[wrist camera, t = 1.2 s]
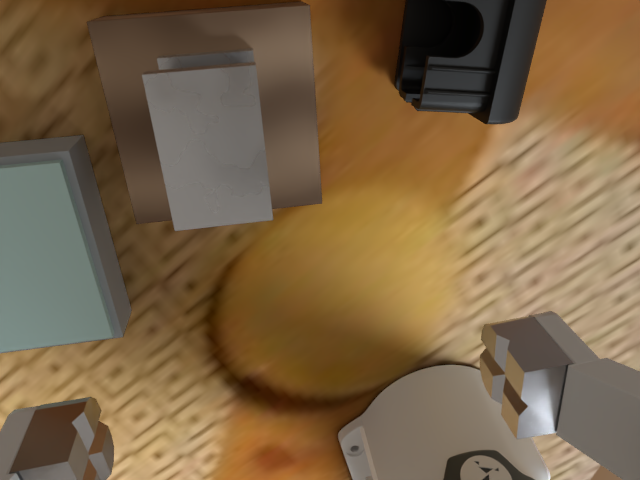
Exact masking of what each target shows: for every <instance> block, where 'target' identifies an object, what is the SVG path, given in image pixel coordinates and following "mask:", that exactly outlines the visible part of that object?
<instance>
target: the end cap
mask: <svg viewBox="0 0 640 480" xmlns="http://www.w3.org/2000/svg"><path fill="white" fill-rule="evenodd" d="M546 1H547V0H406V2H405V9H404V17H403V24H402V31H401V38H400V46H399V53H398V60H397V68H396V75H395V87H396V88H397V90H398V91H399V94H400V96H401V97H402V98H403V99H404V100H405V101H406V102H410V103H412V104H411V105H412V106H414V108H415V109H416V110H417V111H434V112H455V113H468V114H470V115H472V116H473V117H475V118H477V119H478V120H480V121H481V122H483V123H485V124H505V123H510V122H513V121H514V120H516V119H517V118H518V114H519V110H520V106H521V102H522V98H523V94H524V90H525V86H526V82H527V78H528V74H529V70H530V66H531V62H532V58H533V54H534V49H535V45H536V41H537V37H538V33H539V29H540V25H541V21H542V17H543V13H544V9H545V5H546Z"/></svg>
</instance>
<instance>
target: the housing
mask: <svg viewBox="0 0 640 480" xmlns="http://www.w3.org/2000/svg"><path fill="white" fill-rule="evenodd" d="M157 62H158V67H159V70H152V71H145V72H144V73H143V74H142V78H143V83H144V87H145V92H146V97H147V102H148V106H149V111H150V116H151V121H152V125H153V130H154V135H155V140H156V144H157V149H158V154H159V159H160V163H161V168H162V173H163V177H164V182H165V187H166V192H167V196H168V201H169V206H170V211H171V215H172V220H173V225H174V230H175V231H181V230H189V229H198V228H207V227H216V226H225V225H233V224H242V223H251V222H260V221H269V220H273V214H272V205H271V196H270V187H269V178H268V169H267V160H266V151H265V142H264V134H263V125H262V116H261V107H260V98H259V89H258V80H257V71H256V63H255V62H254V54H253V48H250V49H238V50H226V51H213V52H201V53H189V54H177V55H164V56H159V57H158V58H157Z"/></svg>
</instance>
